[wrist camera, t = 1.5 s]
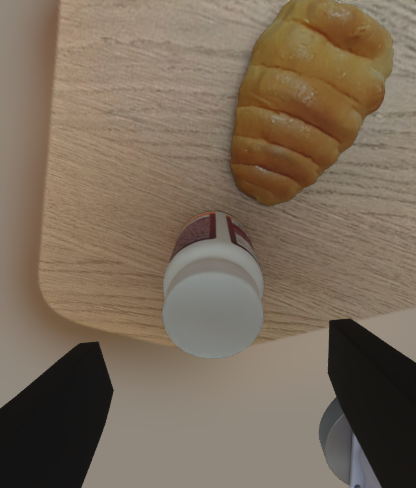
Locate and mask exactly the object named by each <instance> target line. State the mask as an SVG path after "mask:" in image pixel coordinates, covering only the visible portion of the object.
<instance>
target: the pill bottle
mask: <svg viewBox="0 0 416 488" xmlns="http://www.w3.org/2000/svg"><path fill="white" fill-rule="evenodd" d="M263 290H264V279H263V274H262V271H261V268H260V266H259V263H258V261H257V258H256V255H255V253H254V251H253V247H252V245H251V242H250V239H249V236H248V233H247V231H246V229H245V228H244V226H243V225H242V224H241V223H240V222H239V221H238V220H237V219H236V218H234V217H233V216H231V215H229V214H226V213H223V212H218V211H210V212H204V213H201V214H199V215H197V216H195V217H193V218H192V219H190V220H189V221H188V222H187V223H186V224H185V226H184V227H183V229H182V230H181V232H180V235H179V237H178V240H177V242H176V245H175V248H174V250H173V253H172V256H171V258H170V261H169V264H168V266H167V269H166V272H165V275H164V281H163V292H164V297H165V300H164V303H163V308H162V320H163V325H164V328H165V331H166V333H167V334H168V336H169V338H170V339H171V340H172V341H173V342H174V344H175V345H177V346H178V347H179V348H180V349H182V350H183V351H185V352H187V353H189V354H191V355H194V356H197V357H201V358H208V359H218V358H225V357H229V356H233V355H235V354H237V353H239V352H241V351H243V350H244V349H246V348H247V347H248V346H249V345H250V344H252V343H253V341H254V340H255V339H256V338H257V336H258V335H259V333H260V330H261V328H262V325H263V319H264V310H263V305H262V301H261V299H262V296H263Z"/></svg>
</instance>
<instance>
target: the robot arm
mask: <svg viewBox="0 0 416 488" xmlns="http://www.w3.org/2000/svg"><path fill="white" fill-rule="evenodd" d="M328 356H329V357H328V375H329V377H330V380H331V382H332V386H333V388H334V391H335V394H336V396H337V399H338V401H339V404H340V407H341V409H342V411H343V413H344V415H345V417H346V419H347V421H348V423H349V425H350V427H351V429H352V431H353V433H352V449H351V465H350V481H349V488H416V363H415V362H414V361H412V360H411V359H409V358H408V357H406V356H405V355H403V354H402V353H400V352H399V351H397V350H396V349H394V348H393V347H392V346H390V345H388V344H387V343H386V342H384V341H383V340H381V339H380V338H378V337H377V336H375V335H374V334H373V333H371V332H370V331H368V330H367V329H365V328H364V327H362V326H361V325H359V324H358V323H356V322H355V321H353V320H352V319H339V320H330V321H329V355H328ZM113 391H114V390H113V387H112V384H111V380H110V378H109V374H108V371H107V368H106V365H105V361H104V358H103V355H102V352H101V349H100V346H99V342H89V343H80V344H78V345H77V346H75V347H74V348H73V349H72V350H70V351H69V352H68V353H67V354H65V355H64V356H63V357H62V358H61V359H59V360H58V361H57V362H56V363H55V364H53V365H52V366H51V367H50V368H49V369H48V370H46V371H45V372H44V373H43V374H42V375H40V376H39V377H38V378H37V379H36V380H35V381H33V382H32V383H31V384H30V385H29V386H27V387H26V388H25V389H24V390H23V391H21V392H20V393H19V394H18V395H17V396H16V397H14V398H13V399H12V400H10V401H9V402H8V403H7V404H5V405H4V406H3V407H2V408H0V488H81V487H82V484H83V482H84V479H85V476H86V474H87V471H88V469H89V466H90V464H91V461H92V458H93V456H94V453H95V450H96V448H97V445H98V442H99V440H100V437H101V434H102V432H103V428H104V426H105V423H106V419H107V415H108V412H109V408H110V404H111V399H112V395H113Z"/></svg>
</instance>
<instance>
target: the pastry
mask: <svg viewBox="0 0 416 488" xmlns="http://www.w3.org/2000/svg"><path fill="white" fill-rule="evenodd" d="M392 46H393V41H392V38H391V35H390V33H389V32H388V31H387V29H385V28H384V27H382V26H381V25H380V24H379V23H378V22H377V21H376V20H374V19H373V18H372V17H370V16H369V15H367V14H366V13H364V12H363V11H362V10H360V9H359V8H357V7H356V6H354V5H350V4H343V3H337V2H335V1H334V0H290V1H289V2H288V3H286V4H285V5H284V6H283V7H282V9H281V10H280V12H279V14H278V16H277V18H276V19H275V21H274V22H273V23H272V24H271V25H270V26H269V27H268V28H267V29H266V30H265V31H264V32H263V34H262V35H261V36H260V38H259V39H258V40H257V42H256V44H255V46H254V48H253V52H252V56H251V60H250V64H249V66H248V68H247V71H246V75H245V78H244V80H243V82H242V84H241V86H240V89H239V93H238V103H237V108H236V119H235V126H234V133H233V137H232V143H231V160H230V166H231V169H232V171H233V174H234V178H235V181H236V185H237V187H238V188H239V189H240V190H241V191H242V192H243V193H245V194H246V195H247V196H249V197H251V198H253V199H255V200H257V201H258V202H259V203H261V204H263V205H266V206H273V205H275V204H279V203H282V202H287V201H289V200H291V199H292V198H294V197H295V196H296V195H297V194H298V193H299V192H300V191H301V190H302V189H303V188H305V187H308V186H310V185H312V184H314V183H315V182H316V180H317V178H318V177H319V176H321V174H322V173H323V172H324V170H326V169H328V168H329V167H330V166H332V165H333V164H334V163H335V162H336V161H337V159H338V157H339V155H340V154H341V153H342V152H343V151H345V150H346V149H348V148H349V147H351V146H352V144H353V143H354V141H355V139H356V137H357V135H358V131H359V129H360V127H361V126H362V124H363V121H364V119H365V117H366V116H367V115H369V114H371V113H372V112H374V111H376V110H377V109H378V108H379V107H380V105H381V103H382V101H383V99H384V94H385V81H386V79H387V78H388V77H389V76H390V74H391V72H392V68H393V55H394V51H393V48H392Z"/></svg>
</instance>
